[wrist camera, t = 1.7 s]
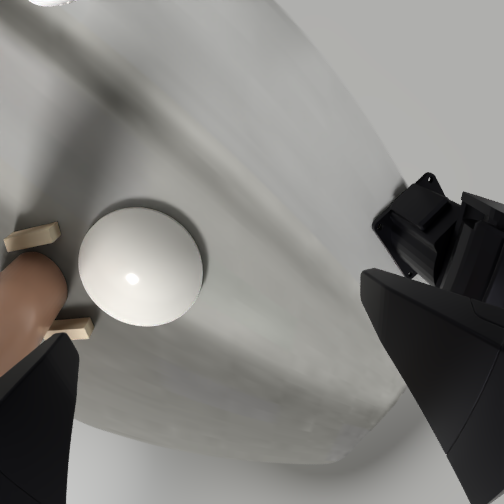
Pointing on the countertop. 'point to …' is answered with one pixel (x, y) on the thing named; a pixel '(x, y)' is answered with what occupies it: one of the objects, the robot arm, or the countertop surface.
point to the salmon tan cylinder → (28, 305)
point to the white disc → (140, 266)
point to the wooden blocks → (42, 236)
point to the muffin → (51, 2)
